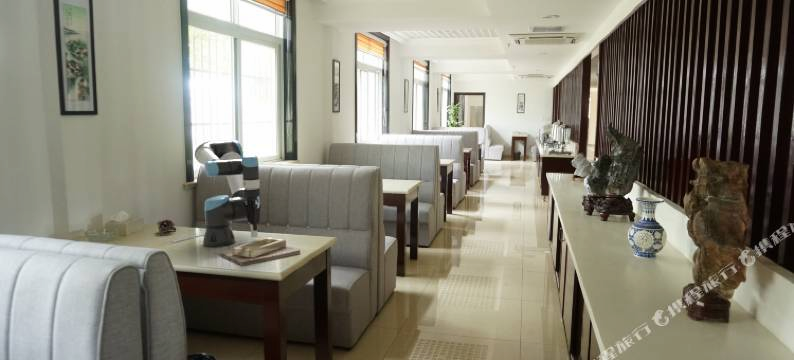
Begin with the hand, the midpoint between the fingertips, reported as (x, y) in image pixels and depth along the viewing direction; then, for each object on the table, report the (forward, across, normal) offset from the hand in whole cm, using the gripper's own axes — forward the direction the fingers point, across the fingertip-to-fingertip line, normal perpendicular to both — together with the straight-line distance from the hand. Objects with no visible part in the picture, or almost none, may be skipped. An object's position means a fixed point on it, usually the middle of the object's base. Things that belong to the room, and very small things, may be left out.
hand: (254, 236), depth 265 cm
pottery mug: (+5, -63, -21) cm, 67 cm away
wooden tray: (+3, +14, -5) cm, 15 cm away
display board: (+5, +15, -5) cm, 16 cm away
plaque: (+5, -43, -18) cm, 47 cm away
